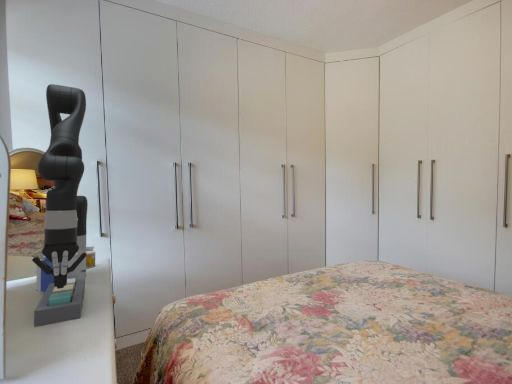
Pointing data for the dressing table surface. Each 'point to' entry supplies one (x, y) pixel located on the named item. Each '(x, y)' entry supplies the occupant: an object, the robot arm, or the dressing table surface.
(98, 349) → the dressing table surface
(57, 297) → the teal key
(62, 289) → the sand key
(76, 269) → the skincare box
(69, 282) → the grey key
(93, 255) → the supplement bottle
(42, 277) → the walkman
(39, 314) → the grey board with slots
